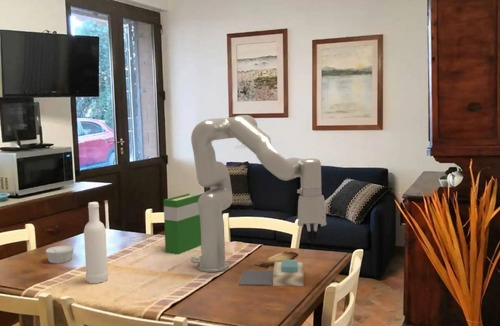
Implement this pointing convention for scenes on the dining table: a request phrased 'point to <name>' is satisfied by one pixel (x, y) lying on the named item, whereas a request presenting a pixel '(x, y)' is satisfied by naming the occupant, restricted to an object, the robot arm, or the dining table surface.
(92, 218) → the bottle
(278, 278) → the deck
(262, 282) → the mat
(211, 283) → the dining table surface
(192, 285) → the dining table surface
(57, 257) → the ramekin
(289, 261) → the tile
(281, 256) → the parchment
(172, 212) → the hardback book
